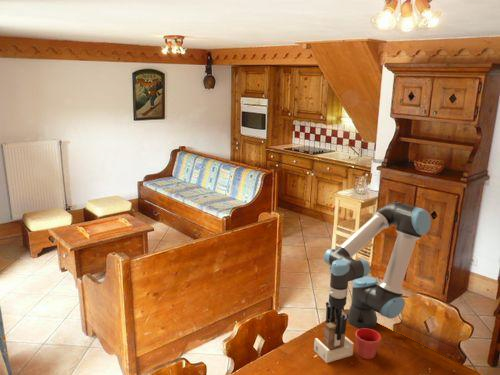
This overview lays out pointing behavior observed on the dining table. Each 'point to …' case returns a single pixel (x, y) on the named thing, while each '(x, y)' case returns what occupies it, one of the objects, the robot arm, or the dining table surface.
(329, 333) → the walnut panel
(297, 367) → the dining table surface
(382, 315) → the robot arm
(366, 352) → the flower pot
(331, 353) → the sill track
